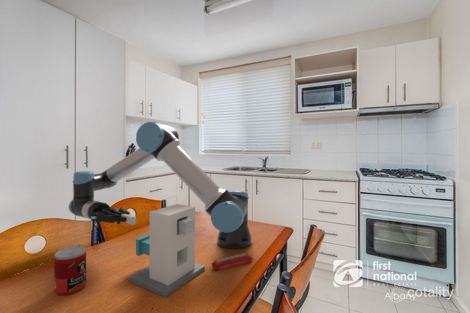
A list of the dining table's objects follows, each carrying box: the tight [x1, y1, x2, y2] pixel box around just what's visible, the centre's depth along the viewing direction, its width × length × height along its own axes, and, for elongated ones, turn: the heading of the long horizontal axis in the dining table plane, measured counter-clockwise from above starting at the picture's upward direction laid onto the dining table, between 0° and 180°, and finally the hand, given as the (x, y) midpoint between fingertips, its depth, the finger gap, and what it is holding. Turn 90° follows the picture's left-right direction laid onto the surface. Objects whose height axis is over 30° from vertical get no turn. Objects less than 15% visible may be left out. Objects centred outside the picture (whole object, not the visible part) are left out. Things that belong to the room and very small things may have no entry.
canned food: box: [53, 245, 87, 296], centre depth 70 cm, size 8×8×11 cm
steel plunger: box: [177, 217, 194, 235], centre depth 76 cm, size 14×6×6 cm, turn 60°
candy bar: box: [210, 252, 254, 271], centre depth 86 cm, size 16×4×3 cm, turn 119°
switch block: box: [128, 203, 206, 298], centre depth 78 cm, size 16×18×22 cm
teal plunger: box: [135, 233, 150, 257], centre depth 81 cm, size 14×6×6 cm, turn 60°
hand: (134, 220), depth 86 cm, fingers closed
